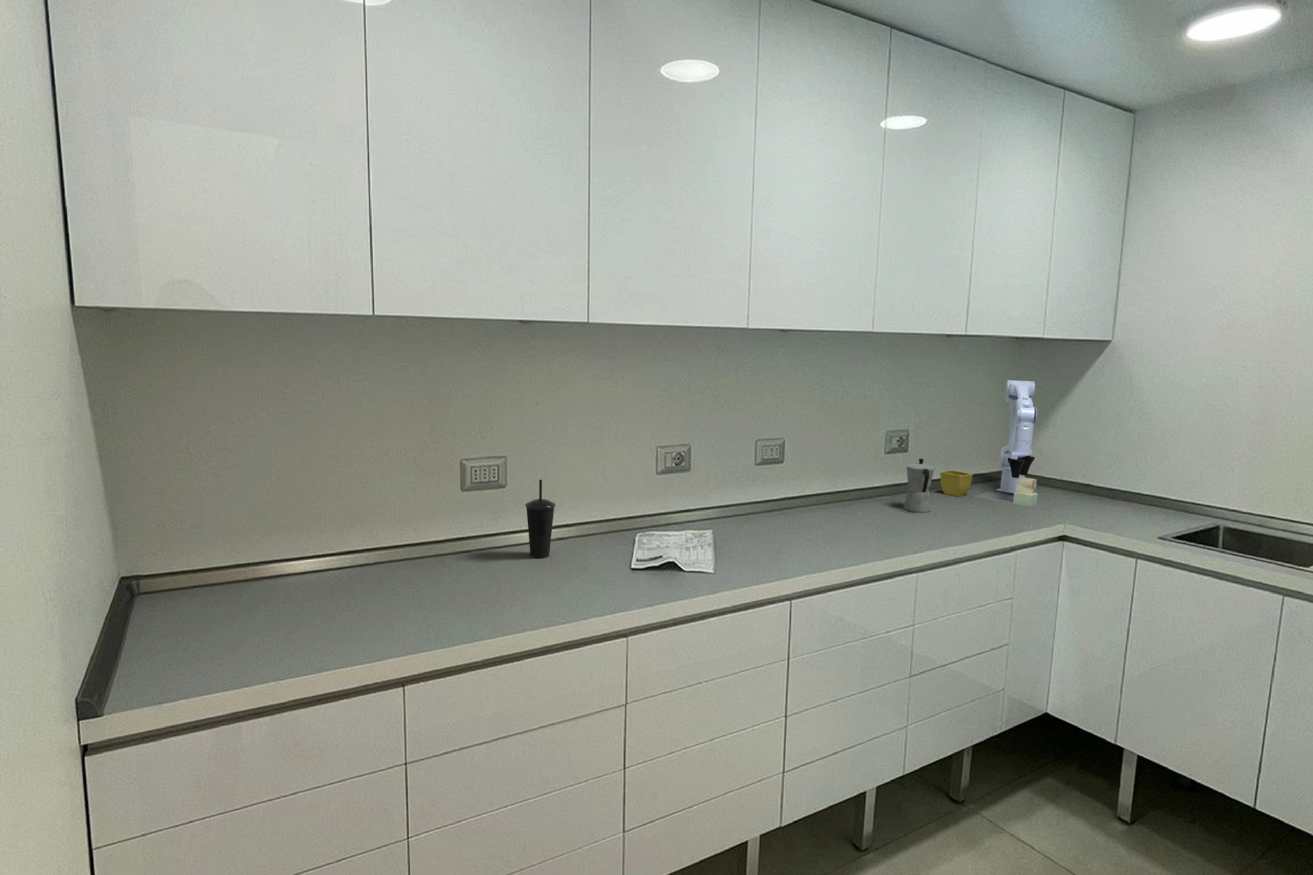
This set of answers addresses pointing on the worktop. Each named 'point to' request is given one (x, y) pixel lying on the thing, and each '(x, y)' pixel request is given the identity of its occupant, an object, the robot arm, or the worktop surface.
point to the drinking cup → (540, 525)
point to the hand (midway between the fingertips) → (1019, 476)
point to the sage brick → (1025, 499)
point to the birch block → (1026, 486)
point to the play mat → (1010, 499)
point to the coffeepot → (919, 487)
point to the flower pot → (955, 482)
